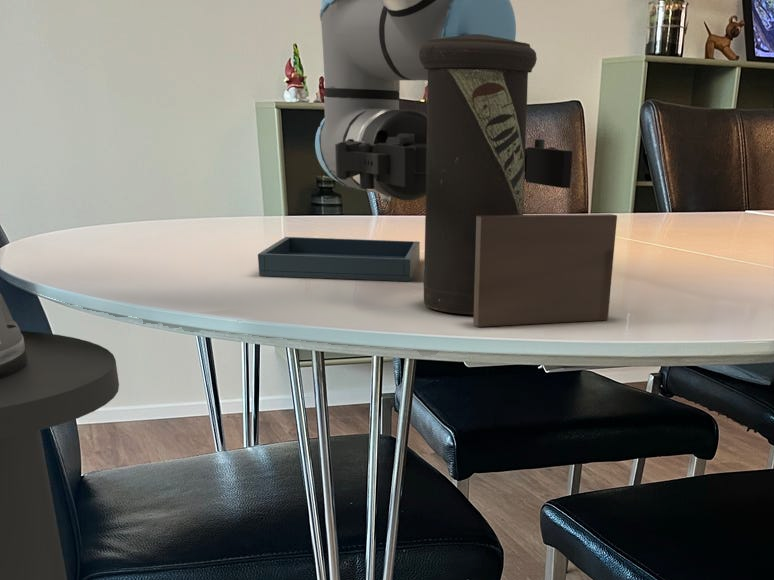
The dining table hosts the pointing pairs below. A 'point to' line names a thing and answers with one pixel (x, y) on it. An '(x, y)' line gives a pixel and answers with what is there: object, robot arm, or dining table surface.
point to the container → (470, 154)
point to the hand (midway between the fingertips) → (491, 168)
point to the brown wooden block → (543, 268)
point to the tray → (340, 259)
